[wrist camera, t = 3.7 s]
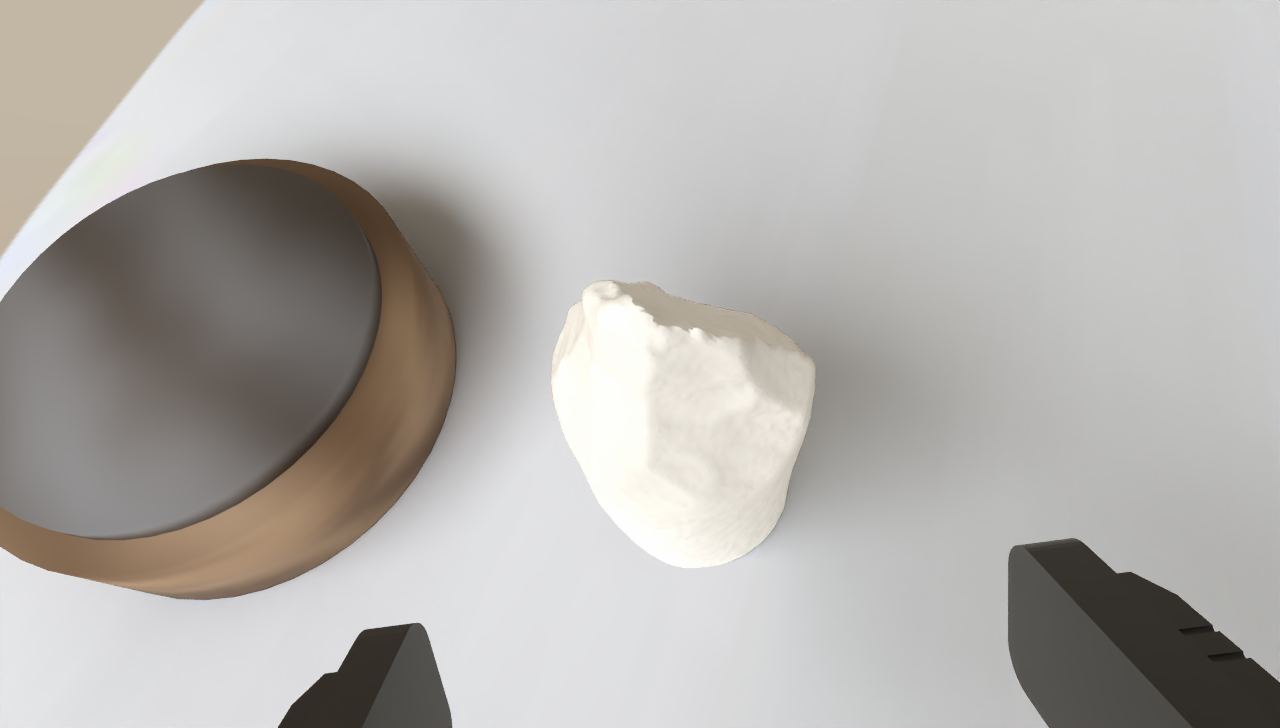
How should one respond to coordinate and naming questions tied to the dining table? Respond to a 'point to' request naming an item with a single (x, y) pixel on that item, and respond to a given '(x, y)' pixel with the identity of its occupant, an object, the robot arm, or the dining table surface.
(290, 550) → the podium
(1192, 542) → the dining table surface
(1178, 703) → the robot arm
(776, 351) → the white tall rounded piece
